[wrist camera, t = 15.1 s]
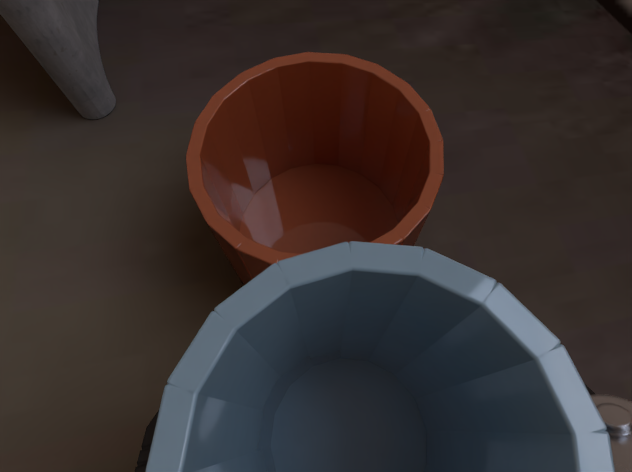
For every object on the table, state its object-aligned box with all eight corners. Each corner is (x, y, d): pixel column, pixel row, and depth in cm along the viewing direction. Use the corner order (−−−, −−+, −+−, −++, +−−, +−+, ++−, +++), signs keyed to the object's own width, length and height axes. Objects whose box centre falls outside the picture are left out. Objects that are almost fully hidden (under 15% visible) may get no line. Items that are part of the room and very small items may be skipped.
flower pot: (404, 332, 29) (445, 281, 19) (216, 313, 30) (158, 255, 19) (408, 169, 34) (443, 59, 24) (247, 157, 34) (214, 45, 24)
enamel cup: (438, 555, 13) (671, 831, 4) (246, 531, 14) (82, 735, 5) (436, 356, 16) (584, 258, 7) (272, 340, 16) (199, 226, 7)
